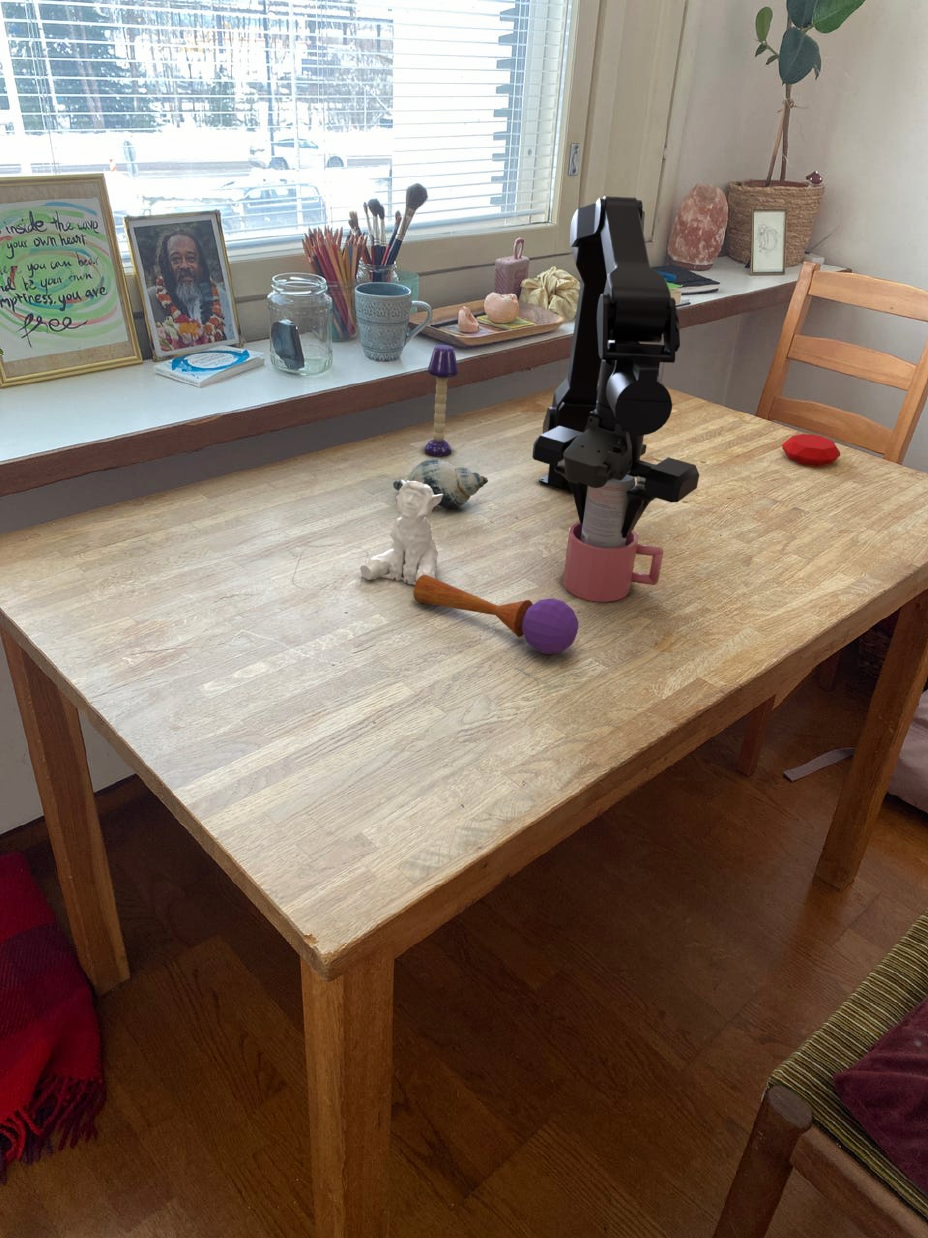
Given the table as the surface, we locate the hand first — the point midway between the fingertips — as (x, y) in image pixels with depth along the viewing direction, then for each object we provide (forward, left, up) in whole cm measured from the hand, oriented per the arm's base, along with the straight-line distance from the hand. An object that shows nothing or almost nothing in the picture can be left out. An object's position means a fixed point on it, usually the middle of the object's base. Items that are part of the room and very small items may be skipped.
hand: (604, 529), depth 112 cm
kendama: (+17, -4, -8) cm, 19 cm away
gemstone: (-62, +6, -8) cm, 63 cm away
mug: (-1, +1, -7) cm, 8 cm away
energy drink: (0, 0, -5) cm, 5 cm away
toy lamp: (-22, -41, -8) cm, 47 cm away
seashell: (-6, -29, -8) cm, 31 cm away
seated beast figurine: (+13, -19, -8) cm, 24 cm away
